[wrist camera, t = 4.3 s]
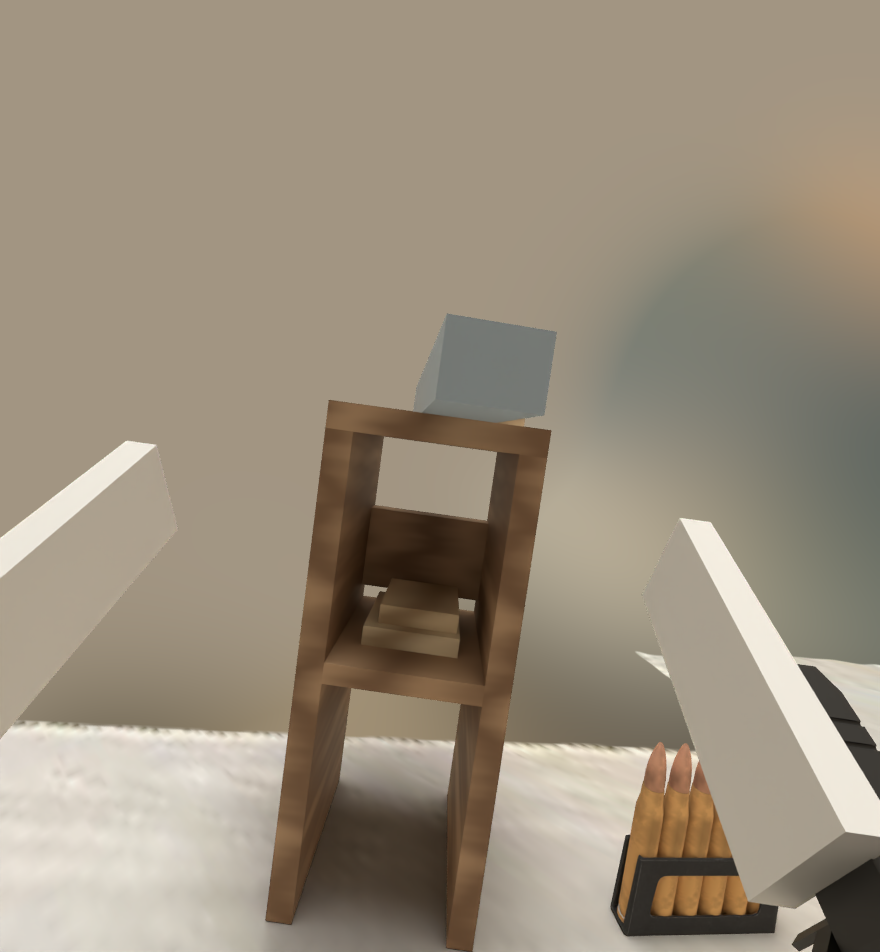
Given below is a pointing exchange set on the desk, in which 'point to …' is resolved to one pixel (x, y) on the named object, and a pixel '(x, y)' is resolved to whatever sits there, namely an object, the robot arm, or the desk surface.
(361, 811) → the desk surface
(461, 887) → the rack
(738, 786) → the robot arm
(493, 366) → the batten
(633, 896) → the ammunition clip
